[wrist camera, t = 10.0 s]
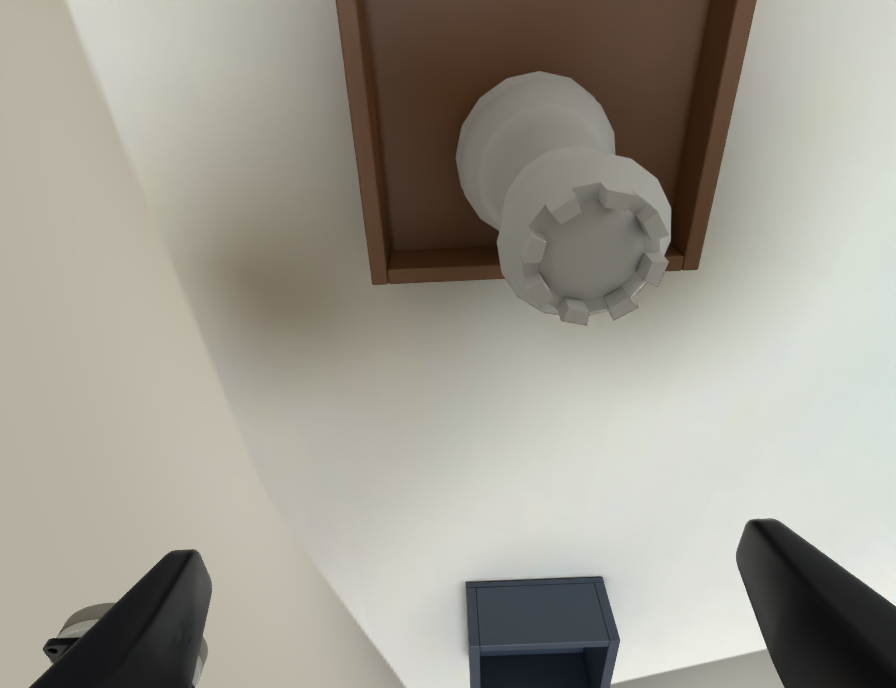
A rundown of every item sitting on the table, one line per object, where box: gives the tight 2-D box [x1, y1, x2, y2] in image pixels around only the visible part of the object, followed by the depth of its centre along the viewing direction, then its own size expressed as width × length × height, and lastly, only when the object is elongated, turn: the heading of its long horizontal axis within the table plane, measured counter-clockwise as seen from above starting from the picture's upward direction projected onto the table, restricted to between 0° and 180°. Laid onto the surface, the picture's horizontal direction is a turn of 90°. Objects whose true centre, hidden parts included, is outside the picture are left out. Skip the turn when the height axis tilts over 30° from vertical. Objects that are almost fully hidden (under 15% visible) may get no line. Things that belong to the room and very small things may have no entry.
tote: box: [466, 577, 620, 688], centre depth 29 cm, size 7×7×3 cm
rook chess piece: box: [455, 71, 671, 325], centre depth 13 cm, size 4×4×8 cm
